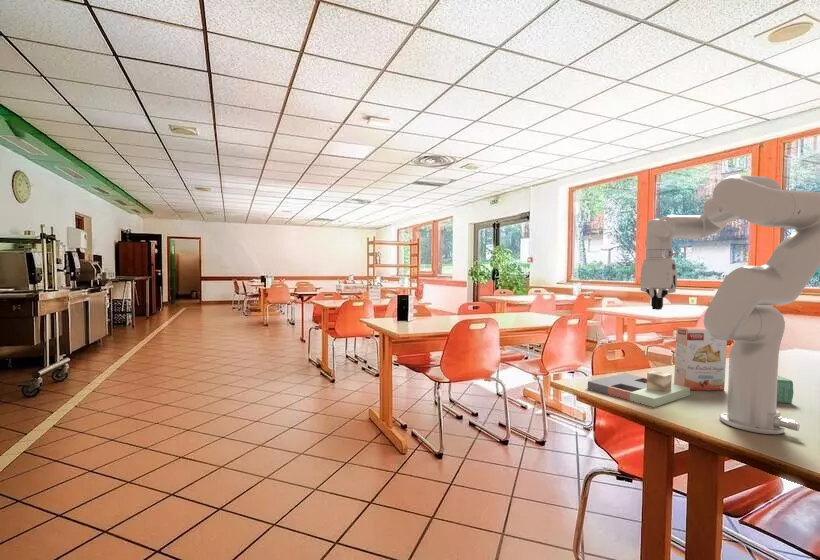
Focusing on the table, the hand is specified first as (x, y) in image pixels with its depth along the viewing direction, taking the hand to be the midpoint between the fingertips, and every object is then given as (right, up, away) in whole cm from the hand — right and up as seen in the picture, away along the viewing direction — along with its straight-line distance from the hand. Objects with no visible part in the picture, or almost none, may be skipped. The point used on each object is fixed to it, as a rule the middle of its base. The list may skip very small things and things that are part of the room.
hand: (656, 309), depth 134 cm
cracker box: (+15, -28, +1) cm, 32 cm away
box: (+27, -28, -9) cm, 40 cm away
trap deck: (-9, -27, -5) cm, 29 cm away
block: (-5, -25, -10) cm, 27 cm away
